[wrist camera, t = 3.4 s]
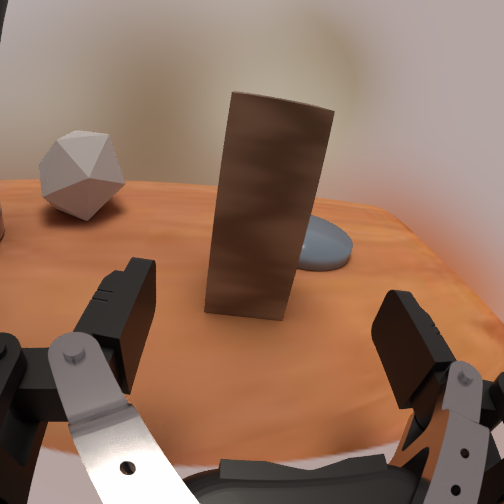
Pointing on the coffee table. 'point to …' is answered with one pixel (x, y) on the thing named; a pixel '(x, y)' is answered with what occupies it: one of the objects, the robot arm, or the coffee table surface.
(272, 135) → the walnut block
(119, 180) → the die
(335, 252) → the slate dish
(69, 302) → the coffee table surface
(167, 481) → the robot arm
